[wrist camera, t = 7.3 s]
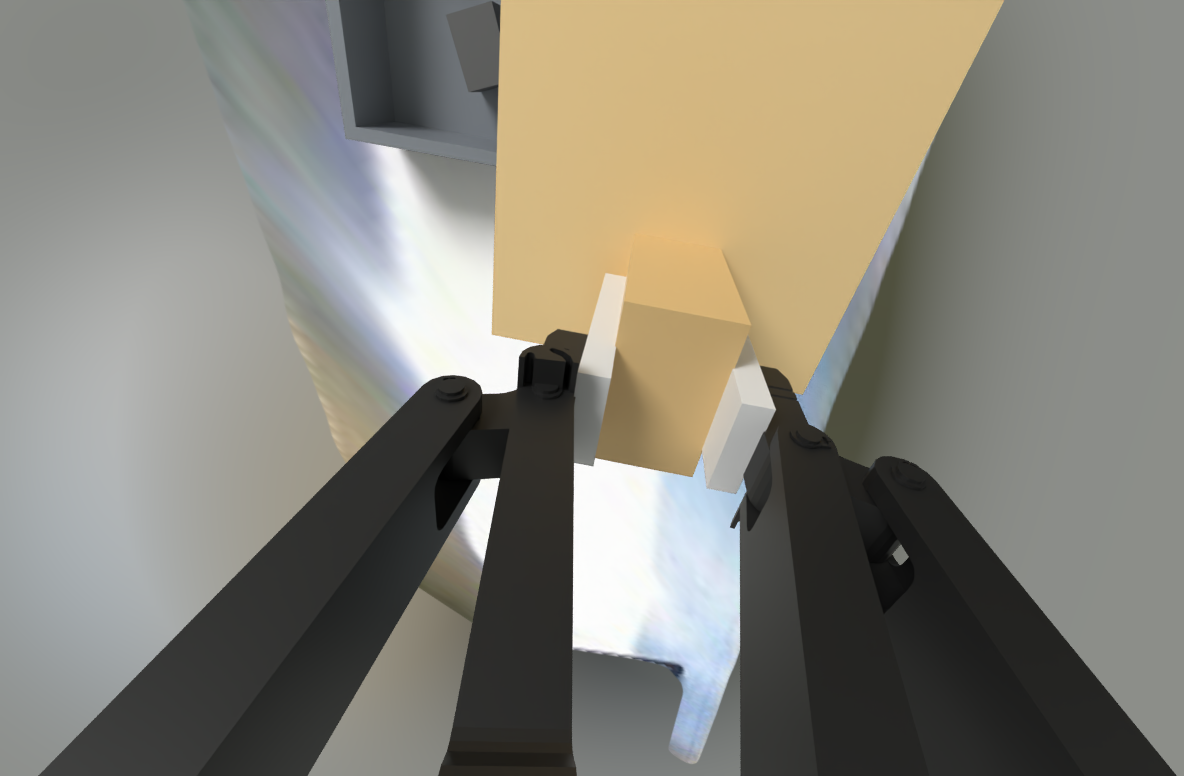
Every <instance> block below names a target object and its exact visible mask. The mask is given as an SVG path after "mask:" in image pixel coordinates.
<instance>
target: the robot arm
mask: <svg viewBox="0 0 1184 776" xmlns="http://www.w3.org/2000/svg"><path fill="white" fill-rule="evenodd" d="M625 283H626V277H624V276H619V275H614V274H608V273H605V277H604V280H603V284H602V288H601V291H600V295H599V298H598V302H597V305H596V309H595V312H594V316H593V319H592V323H591V327H590V330H589V334H582V333H577V332H572V331H566V330H561V329H557V330H555V331H554V332H552V333H551V334H549V335H548V336H547V338H546V340H545V342H544V345H537V346H532V347H529V348H527V349H525V350H524V351H522V353H521V355H520V356H519V369H518V385H517V390H514V391H511V392H507V393H500V394H482V390H481V387H480V385H479V384H478V383H476V382H475V381H474V380H472V379H469V378H467V377H463V376H455V375H450V376H441V377H438V378H435V379H432V380H430V381H428V382H427V383H426V384H424V385H423V386H422V387H421V388H420V389H419V390H418V391H417V392H416V393H415V394H414V395H413V396H412V397H411V398H410V399H409V400H408V401H407V402H406V403H405V404H404V405H403V406H402V407H401V408H400V409H399V410H398V411H397V412H396V413H395V414H394V415H393V416H392V417H391V418H390V419H389V420H388V421H387V422H386V423H385V424H384V425H383V426H382V427H381V428H380V429H379V431H378V432H377V433H376V434H375V435H374V436H373V437H372V438H371V439H370V440H369V441H368V442H367V443H366V444H365V445H364V446H363V447H362V448H361V449H360V450H359V451H358V452H357V453H356V454H355V455H354V456H353V457H352V458H351V459H350V460H349V461H348V462H347V463H346V464H345V465H344V466H343V467H342V468H341V469H340V470H339V471H338V472H337V473H336V474H335V475H334V476H333V477H332V478H331V479H330V480H329V481H328V482H327V483H326V484H325V485H324V486H323V487H322V488H321V489H320V490H319V491H318V492H317V493H316V494H315V496H313V498H312V499H311V500H310V501H309V502H308V503H307V504H306V505H305V506H304V507H303V508H302V509H301V510H300V511H299V512H298V513H297V514H296V515H295V516H294V517H293V518H292V519H291V520H290V521H289V522H288V523H287V524H286V525H285V526H284V527H283V528H282V529H281V530H280V531H279V532H278V533H277V534H276V535H275V536H274V537H273V538H272V539H271V540H270V541H269V542H268V543H267V545H266V546H264V547H263V548H262V549H261V550H260V551H259V552H258V553H257V554H256V555H255V556H254V557H253V558H252V559H251V561H250V562H249V563H248V564H247V565H246V566H245V567H244V568H243V569H242V570H241V571H240V572H239V573H238V574H237V575H236V576H235V577H234V578H233V579H232V580H231V581H230V582H229V583H228V584H227V585H226V586H225V587H224V588H223V589H222V590H221V591H220V592H219V593H218V594H217V595H216V596H215V597H214V598H213V599H212V600H211V601H210V602H209V603H208V604H207V605H206V606H205V607H204V608H203V609H202V610H201V611H200V612H199V613H198V614H197V615H196V616H195V617H194V618H193V620H191V621H190V622H189V624H187V625H186V627H184V628H183V630H182V631H181V632H180V633H179V634H178V635H177V636H176V637H175V638H174V639H173V640H172V641H171V642H170V643H169V644H168V645H167V646H166V647H165V648H164V649H163V650H162V651H161V652H160V653H159V654H158V655H157V656H156V657H155V658H154V659H153V660H152V661H151V662H150V663H149V664H148V665H147V666H146V667H145V668H144V669H143V670H142V671H141V672H140V673H139V674H138V675H137V676H136V677H135V678H134V679H133V680H132V681H131V682H130V683H129V685H127V686H126V687H125V688H124V689H123V690H122V692H120V693H119V694H118V695H117V696H116V698H115V699H114V700H113V701H112V702H111V703H110V704H109V705H108V706H107V707H106V708H105V709H104V710H103V711H102V712H101V713H100V714H99V715H98V716H97V717H96V718H95V719H94V720H93V721H92V722H91V723H90V724H89V725H88V726H87V727H86V728H85V729H84V730H83V731H82V732H81V733H80V734H79V735H78V736H77V737H76V738H75V739H74V740H73V741H72V742H71V743H70V744H69V745H68V746H67V747H66V748H65V749H64V750H63V751H62V752H61V753H60V754H59V755H58V756H57V757H56V758H55V760H54V761H52V762H51V764H50V765H49V766H48V767H47V768H46V769H45V770H44V771H43V772H42V773H41V774H40V775H39V776H308V774H309V772H310V771H311V769H312V767H313V765H314V764H315V762H316V760H317V758H318V757H319V755H320V754H321V752H322V750H323V748H324V747H325V745H326V743H327V742H328V740H329V738H330V736H331V735H332V733H333V731H334V730H335V728H336V726H337V725H338V723H339V721H340V720H341V717H342V716H343V714H344V713H345V711H346V709H347V708H348V706H349V704H350V702H351V701H352V699H353V697H354V696H355V694H356V692H357V691H358V689H359V687H360V685H361V684H362V682H363V680H364V679H365V677H366V675H367V674H368V672H369V670H370V669H371V667H372V665H373V663H374V662H375V660H376V658H377V657H378V655H379V653H380V651H381V650H382V648H383V646H384V645H385V643H386V641H387V640H388V638H389V636H390V634H391V633H392V631H393V629H394V628H395V626H396V624H397V623H398V621H399V619H400V617H401V616H402V614H403V612H404V610H405V609H406V607H407V605H408V604H409V602H410V600H411V599H412V597H413V595H414V594H415V592H416V590H417V589H418V587H419V585H420V583H421V582H422V580H423V578H424V577H425V575H426V573H427V572H428V570H429V568H430V566H431V565H432V563H433V561H434V560H435V558H436V556H437V555H438V553H439V551H440V549H441V548H442V546H443V544H444V543H445V541H446V539H447V538H448V536H449V534H450V532H451V531H452V529H453V527H454V526H455V524H456V522H457V521H458V519H459V517H460V515H461V514H462V512H463V510H464V509H465V507H466V505H467V504H468V502H469V500H470V498H471V497H472V495H473V493H474V492H475V490H476V488H477V487H478V485H479V483H480V480H481V479H490V478H500V481H499V486H498V491H497V497H496V502H495V507H494V512H493V518H492V523H491V528H490V533H489V539H488V544H487V549H486V554H485V560H484V565H483V570H482V575H481V581H480V586H479V591H478V596H477V602H476V607H475V612H474V617H473V623H472V628H471V633H470V638H469V644H468V649H467V654H466V659H465V665H464V670H463V675H462V680H461V686H460V691H459V696H458V702H457V707H456V712H455V718H454V723H453V728H452V732H451V737H450V742H449V746H448V750H447V753H446V755H445V757H444V760H443V762H442V764H441V768H440V771H439V775H438V776H577V774H576V765H575V761H574V757H573V751H572V633H573V501H574V463H578V464H584V465H589V466H593V465H594V460H595V455H596V450H597V445H598V440H599V435H600V430H601V425H602V420H603V415H604V411H605V406H606V401H607V396H608V391H609V386H610V381H611V375H612V369H613V363H614V357H615V350H616V347H615V343H616V337H617V331H618V325H619V319H620V313H621V307H622V301H623V295H624V289H625ZM702 454H703V462H704V470H705V478H706V486H707V488H708V489H713V490H718V491H723V492H729V493H734V494H736V493H737V491H738V489H739V487H740V485H741V482H742V480H743V478H744V481H745V485H746V490H747V491H746V493H745V495H744V497H743V499H742V502H741V504H740V506H739V508H738V510H737V512H736V514H735V516H734V518H733V520H732V522H731V526H730V528H734V529H735V527H736V525H737V523H738V522H739V521H740V679H741V680H740V695H741V696H740V698H741V699H740V705H741V706H740V709H741V712H740V715H741V716H740V719H741V721H740V722H741V725H740V727H741V776H1176V774H1175V773H1174V772H1173V771H1172V769H1171V768H1170V767H1169V766H1168V765H1167V763H1166V762H1165V761H1164V760H1163V758H1162V757H1161V756H1160V755H1159V753H1158V752H1157V751H1156V750H1155V749H1154V747H1153V746H1152V745H1151V744H1150V742H1149V741H1148V740H1147V739H1146V738H1145V737H1144V735H1143V734H1142V733H1141V732H1140V730H1139V729H1138V728H1137V727H1136V725H1135V724H1134V723H1133V722H1132V721H1131V719H1130V718H1129V717H1128V716H1127V714H1126V713H1125V712H1124V711H1123V709H1122V708H1121V707H1120V706H1119V705H1118V703H1117V702H1116V701H1115V700H1114V698H1113V697H1112V696H1111V695H1110V693H1108V691H1107V690H1106V689H1105V687H1104V686H1103V685H1102V684H1101V682H1100V681H1099V680H1098V679H1097V678H1096V676H1095V675H1094V674H1093V673H1092V672H1091V670H1090V669H1089V668H1088V667H1087V666H1086V664H1085V663H1084V662H1083V661H1082V659H1081V658H1080V657H1079V656H1078V654H1077V653H1076V652H1075V651H1074V649H1073V648H1072V647H1071V646H1070V645H1069V643H1068V642H1067V641H1066V640H1065V639H1064V637H1063V636H1062V635H1061V634H1060V632H1059V631H1058V630H1057V629H1056V627H1055V626H1054V625H1053V624H1052V623H1051V621H1050V620H1049V619H1048V618H1047V616H1046V615H1045V614H1044V613H1043V611H1042V610H1041V609H1040V608H1039V607H1038V605H1037V604H1036V603H1035V602H1034V600H1033V599H1032V598H1031V597H1030V596H1029V594H1028V593H1027V592H1026V591H1025V589H1024V588H1023V587H1022V586H1021V585H1020V583H1019V582H1018V581H1017V580H1016V578H1015V577H1014V576H1013V575H1012V574H1011V572H1010V571H1009V570H1008V569H1007V567H1006V566H1005V565H1004V564H1003V563H1002V561H1001V560H1000V559H999V558H998V556H997V555H996V554H995V553H994V552H993V550H992V549H991V548H990V547H989V545H988V544H987V543H986V542H985V540H984V539H983V538H982V537H981V535H980V534H979V533H978V532H977V531H976V529H975V528H974V527H973V526H972V524H971V523H970V522H969V521H968V520H967V518H966V517H965V516H964V515H963V513H962V512H961V511H960V510H959V509H958V507H957V506H956V505H955V504H954V502H953V501H952V500H951V499H950V498H949V496H948V495H947V494H946V493H945V491H944V490H943V489H942V488H941V487H940V485H939V484H938V483H937V482H936V481H935V480H934V479H933V478H932V477H931V476H930V475H929V474H928V473H927V472H925V471H924V470H922V469H921V468H919V467H918V466H917V465H916V464H914V463H912V462H911V463H910V462H909V461H906V460H904V459H900V458H895V457H892V456H883V457H880V458H878V459H876V460H875V462H874V463H873V465H872V466H871V467H870V468H868V467H865V466H862V465H860V464H857V463H855V462H852V461H849V460H847V459H844V458H843V457H840V456H839V455H838V452H837V448H836V446H835V444H834V443H833V441H832V440H831V439H830V438H829V437H828V436H827V435H826V434H825V433H824V432H822V431H820V430H819V429H817V428H815V427H813V426H811V425H809V424H808V422H807V420H806V418H805V415H804V413H803V411H802V409H801V407H800V404H799V402H798V401H797V398H796V395H795V393H794V392H793V389H792V387H791V384H790V382H789V380H788V379H787V378H786V377H785V376H784V375H783V374H782V373H781V372H780V371H779V370H778V369H776V368H770V367H765V366H760V365H759V363H758V360H757V357H756V354H755V352H754V349H753V346H752V344H751V341H750V338H749V335H748V336H747V338H746V341H745V343H744V346H743V348H742V351H741V354H740V356H739V359H738V361H737V364H736V366H735V369H732V372H731V374H730V377H729V380H728V382H727V385H726V388H725V390H724V393H723V395H722V398H721V401H720V403H719V406H718V409H717V411H716V414H715V416H714V419H713V422H712V424H711V427H710V430H709V432H708V435H707V437H706V440H705V443H704V445H703V448H702ZM900 545H902V547H903V548H904V550H905V551H906V553H907V554H908V556H909V558H908V559H907V560H906V561H905V562H904V563H903V564H902V565H899V564H898V562H897V561H896V560H895V558H894V557H893V555H892V554H893V553H894V551H895V550H896V549H897V548H898V547H899V546H900Z"/></svg>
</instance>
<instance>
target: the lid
mask: <svg viewBox="0 0 1184 776" xmlns="http://www.w3.org/2000/svg"><path fill="white" fill-rule="evenodd" d="M1003 1H1004V0H501V15H500V51H499V88H498V125H497V162H496V198H495V235H494V272H493V309H492V335H497V336H502V337H507V338H512V339H518V340H523V341H528V342H533V343H538V344H543V345H544V342H545V340H546V338H547V336H548V335H549V334H551V333H552V332H554V331H555V330H557V329H561V330H566V331H572V332H577V333H582V334H589V330H590V327H591V323H592V319H593V316H594V312H595V309H596V305H597V302H598V298H599V295H600V291H601V288H602V284H603V280H604V277H605V273H608V274H614V275H619V276H624V277H626V283H625V289H624V295H623V301H622V307H621V313H620V319H619V325H618V331H617V337H616V343H615V347H616V350H615V357H614V363H613V369H612V375H611V381H610V386H609V391H608V396H607V401H606V406H605V411H604V415H603V420H602V425H601V430H600V435H599V440H598V445H597V450H596V455H595V458H598V459H603V460H608V461H613V462H618V463H623V464H628V465H633V466H638V467H643V468H648V469H653V470H659V471H664V472H669V473H674V474H679V475H684V476H689V477H693V474H694V471H695V469H696V466H697V464H698V461H699V459H700V456H701V454H702V448H703V445H704V443H705V440H706V437H707V435H708V432H709V430H710V427H711V424H712V422H713V419H714V416H715V414H716V411H717V409H718V406H719V403H720V401H721V398H722V395H723V393H724V390H725V388H726V385H727V382H728V380H729V377H730V374H731V372H732V369H735V366H736V364H737V361H738V359H739V356H740V354H741V351H742V348H743V346H744V343H745V341H746V338H747V336H748V335H749V338H750V341H751V344H752V346H753V349H754V352H755V354H756V357H757V360H758V363H759V365H760V366H765V367H770V368H776V369H778V370H779V371H780V372H781V373H782V374H783V375H784V376H785V377H786V378H787V379H788V380H789V382H790V384H791V387H792V389H793V392H794V393H797V394H802V395H803V393H804V391H805V389H806V387H807V385H808V383H809V381H810V379H811V377H812V375H813V373H814V371H815V369H816V367H817V366H818V364H819V362H820V360H821V358H822V356H823V354H824V352H825V350H826V348H827V346H828V344H829V342H830V340H831V338H832V336H833V334H834V332H835V330H836V328H837V326H838V324H839V322H840V321H841V319H842V317H843V315H844V313H845V311H846V309H847V307H848V305H849V303H850V301H851V299H852V297H853V295H854V293H855V291H856V289H857V287H858V285H859V283H860V281H861V279H862V278H863V276H864V274H865V272H866V270H867V268H868V266H869V264H870V262H871V260H872V258H873V256H874V254H875V252H876V250H877V248H878V246H879V244H880V242H881V240H882V238H883V236H884V234H885V233H886V231H887V229H888V227H889V225H890V223H891V221H892V219H893V217H894V215H895V213H896V211H897V209H898V207H899V205H900V203H901V201H902V199H903V197H904V195H905V193H906V191H907V189H908V188H909V186H910V184H911V182H912V180H913V178H914V176H915V174H916V172H917V170H918V168H919V166H920V164H921V162H922V160H923V158H924V156H925V154H926V152H927V150H928V148H929V146H930V144H931V143H932V141H933V139H934V137H935V135H936V133H937V131H938V129H939V127H940V125H941V123H942V121H943V119H944V117H945V115H946V113H947V111H948V109H949V107H950V105H951V103H952V101H953V99H954V98H955V96H956V93H957V92H958V90H959V88H960V86H961V84H962V82H963V80H964V78H965V76H966V74H967V72H968V70H969V68H970V66H971V64H972V62H973V60H974V58H975V56H976V54H977V53H978V51H979V49H980V47H981V45H982V43H983V41H984V39H985V37H986V35H987V33H988V31H989V29H990V27H991V25H992V23H993V21H994V19H995V17H996V15H997V13H998V11H999V9H1000V7H1001V6H1002V4H1003Z"/></svg>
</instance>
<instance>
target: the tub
mask: <svg viewBox="0 0 1184 776" xmlns="http://www.w3.org/2000/svg"><path fill="white" fill-rule="evenodd" d="M489 1H493V2H495V3H497V4H499V5H501V0H325V2H326V9H327V15H328V22H329V29H330V36H331V43H332V49H333V56H334V63H335V70H336V77H337V83H338V90H339V97H340V104H341V111H342V117H343V124H344V131H345V138H346V139H350V140H355V141H361V142H366V143H372V144H377V145H383V146H388V147H394V148H399V149H405V150H411V151H416V152H422V153H427V154H433V155H438V156H444V157H449V158H455V159H460V160H466V161H471V162H477V163H482V164H488V165H493V166H496V162H497V125H498V88H499V87H498V88H494V89H490V90H486V91H483V92H468V89H467V85H466V82H465V78H464V75H463V72H462V68H461V65H460V61H459V58H458V55H457V51H456V48H455V44H454V41H453V38H452V34H451V31H450V27H449V24H448V21H447V17H446V15H447V14H450V13H453V12H457V11H460V10H463V9H466V8H470V7H473V6H476V5H479V4H483V3H486V2H489Z"/></svg>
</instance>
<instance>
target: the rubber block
mask: <svg viewBox="0 0 1184 776" xmlns="http://www.w3.org/2000/svg"><path fill="white" fill-rule="evenodd" d="M500 15H501V5H499V4H497V3H495V2H493V1H489V2H486V3H483V4H479V5H476V6H473V7H470V8H466V9H463V10H460V11H457V12H453V13H450V14H447V15H446V17H447V21H448V24H449V27H450V31H451V34H452V38H453V41H454V44H455V48H456V51H457V55H458V58H459V61H460V65H461V68H462V72H463V75H464V78H465V82H466V85H467V89H468V92H483V91H486V90H490V89H494V88H498V87H499V51H500Z"/></svg>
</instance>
